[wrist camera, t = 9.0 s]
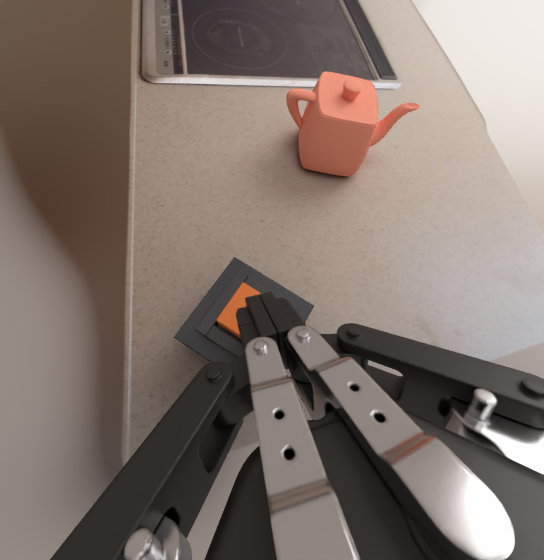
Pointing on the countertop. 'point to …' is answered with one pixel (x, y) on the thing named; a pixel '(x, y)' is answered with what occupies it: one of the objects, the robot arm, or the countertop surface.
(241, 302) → the key
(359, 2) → the countertop surface
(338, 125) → the teapot
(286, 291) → the push button box
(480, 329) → the countertop surface
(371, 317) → the countertop surface
